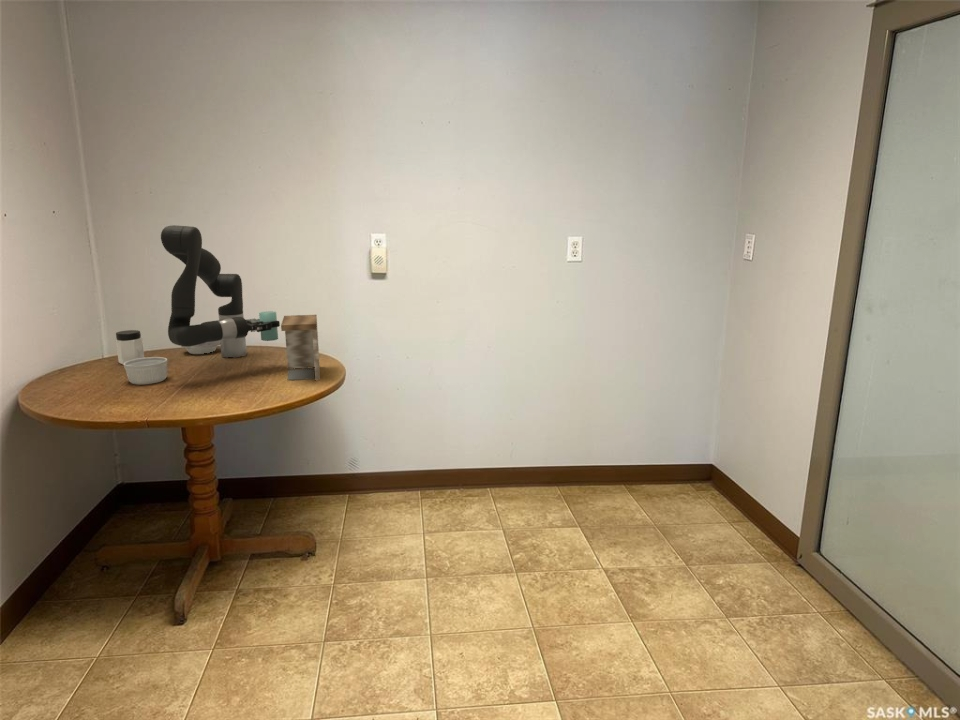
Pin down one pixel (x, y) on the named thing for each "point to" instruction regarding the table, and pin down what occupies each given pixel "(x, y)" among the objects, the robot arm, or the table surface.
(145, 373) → the ramekin
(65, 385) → the table surface
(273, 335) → the teal cylinder
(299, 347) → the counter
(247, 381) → the table surface
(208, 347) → the paper bowls
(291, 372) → the mat
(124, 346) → the jar
